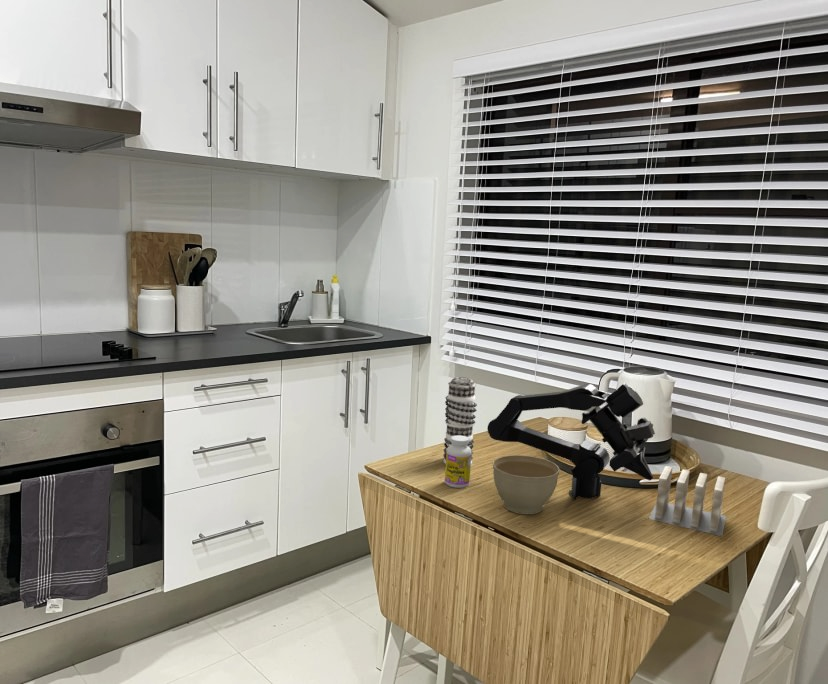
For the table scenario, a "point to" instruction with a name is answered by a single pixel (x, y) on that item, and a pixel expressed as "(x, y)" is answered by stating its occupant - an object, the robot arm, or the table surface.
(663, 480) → the domino
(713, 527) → the domino
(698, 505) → the domino
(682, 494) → the domino
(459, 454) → the supplement bottle
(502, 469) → the planter bowl
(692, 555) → the table surface
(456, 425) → the decorative candle
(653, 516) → the board
